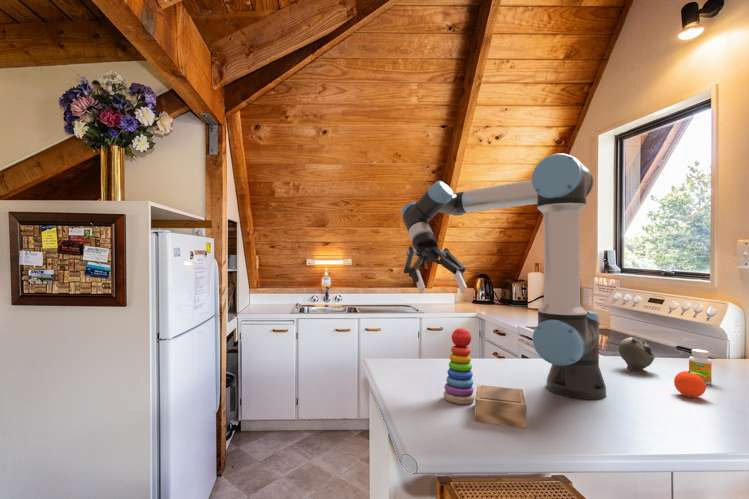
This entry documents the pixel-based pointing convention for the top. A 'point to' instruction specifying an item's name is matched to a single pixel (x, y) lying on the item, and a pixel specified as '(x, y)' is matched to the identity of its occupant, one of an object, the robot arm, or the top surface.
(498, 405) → the wooden block
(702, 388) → the clementine
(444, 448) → the top surface
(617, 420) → the top surface
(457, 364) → the stacking toy
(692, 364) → the supplement bottle
